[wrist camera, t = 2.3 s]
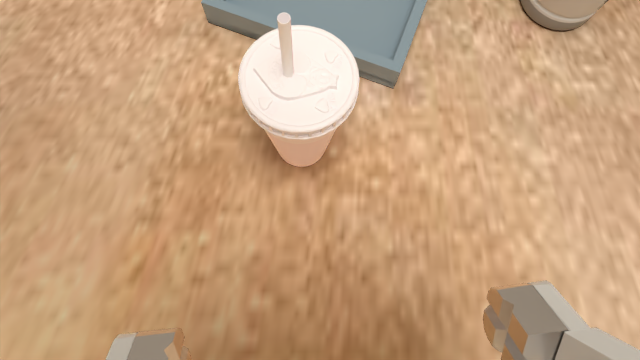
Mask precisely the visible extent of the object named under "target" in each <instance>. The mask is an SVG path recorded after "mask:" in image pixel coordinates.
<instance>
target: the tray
mask: <svg viewBox="0 0 640 360" xmlns="http://www.w3.org/2000/svg"><path fill="white" fill-rule="evenodd" d="M426 2H427V0H202V2H201V3H202V6H203V9H204V11H205V14H206V17H207V20H208V22H209V23H212V24H215V25H218V26H220V27H223V28H226V29H229V30H231V31H234V32H237V33H240V34H243V35H245V36H248V37H251V38H254V39H259V38H260V37H261V36H263V35H264V34H266V33H268V32H270V31H272V30H274V29H277V28H278V21H277V16H278V15H279V14H280V13H283V12H284V13H288V14H289V15H290V18H291V25H306V26H312V27H316V28H320V29H323V30H325V31H327V32H329V33H331V34H333V35H334V36H336V37H337V38H339V39H340V40H341V41H342V42H343V43H344V44H345V45H346V46H347V47H348V49H349V50H350V51H351V53H352V54H353V56H354V58H355V61H356V63H357V67H358V71H359V76H360V77H363V78H366V79H368V80H371V81H374V82H377V83H380V84H382V85H385V86H388V87H391V88H394V86H395V84H396V81H397V79H398V77H399V74H400V72H401V69H402V66H403V64H404V61H405V58H406V56H407V53H408V50H409V47H410V45H411V42H412V39H413V37H414V34H415V31H416V29H417V26H418V23H419V21H420V18H421V15H422V13H423V10H424V7H425V5H426Z"/></svg>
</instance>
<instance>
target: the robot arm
mask: <svg viewBox="0 0 640 360" xmlns="http://www.w3.org/2000/svg"><path fill="white" fill-rule="evenodd" d="M487 300H488V301H489V303H490V305H489V306H488V307H487V308H486V309H485V310H484V315H483V324H484V330H485V333H486V335H487V338H488V340H489V341H490V343H491V345H492V346H493V347H494V348H496V349H497V350H499V351H500V352H502V356H501V360H640V350H638V349H636V348H635V347H633V346H631V345H629V344H627V343H625V342H623V341H621V340H619V339H617V338H615V337H613V336H612V335H610V334H608V333H606V332H604V331H602V330H600V329H598V328H590V327H589V326H588V325H587V324H586V322H585V321H584V320H583V319H582V318H581V317H580V316H579V314H578V313H577V312H576V311H575V310H574V309H573V308H572V307H571V305H570V304H569V303H568V302H567V301H566V300H565V299H564V297H563V296H562V295H561V294H560V293H559V292H558V291H557V289H556V288H555V287H554V286H553V285H552V284H551V283H550V282H548V281H538V282H531V283H522V284H515V285H507V286H500V287H493V288H490V290H489V291H488V294H487ZM184 338H185V337H184V334H183V332H182V329H181V328H173V329H163V330H153V331H143V332H136V333H127V334H119V335H118V336H117V337H116V338H115V339H114V340H113V343H112V345H111V347H110V350H109V352H108V355H107V357H106V359H105V360H191V355H190V352H189V349H188V348H186V347H185V346H183V342H184Z"/></svg>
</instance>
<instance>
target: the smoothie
mask: <svg viewBox="0 0 640 360" xmlns="http://www.w3.org/2000/svg"><path fill="white" fill-rule="evenodd" d="M277 21H278V28H277V29H274V30H272V31H270V32H268V33H266V34H264V35H263V36H261V37H260V38H259V39H257V40H256V41H255V42H254V43H253V44H252V45H251V46H250V48H249V49H248V50H247V52H246V53H245V55H244V57H243V59H242V62H241V65H240V68H239V76H238V81H239V89H240V93H241V98H242V102H243V105H244V107H245V108H246V110H247V112H248V114H249V116H250V117H251V118H252V119H253V120H254V121H255V122H256V123H257V124H258V125H259V126H260V127H261V128H263V129H264V130H265V131H266V133H267V135H268V136H269V138H270V140H271V141H272V143H273V145H274V146H275V148H276V149H277V151H278V153H279V154H280V156H281V157H282V159H283V160H284V161H286V162H287V163H289V164H291V165H293V166H297V167H306V166H310V165H312V164H314V163H316V162H317V161H318V160H319V159H320V158H321V157H322V156H323V154H324V152H325V150H326V148H327V146H328V144H329V142H330V140H331V138H332V136H333V134H334V133H335V131H336V129H337V127H338V126H339V125H341V124H342V123H343V122H344V121H345V120H346V119H347V118H348V116H349V115H350V113H351V111H352V110H353V108H354V106H355V103H356V100H357V96H358V87H359V71H358V67H357V63H356V61H355V58H354V56H353V54H352V53H351V51H350V50H349V49H348V47H347V46H346V45H345V44H344V43H343V42H342V41H341V40H340V39H339V38H337V37H336V36H334V35H333V34H331V33H329V32H327V31H325V30H323V29H320V28H316V27H312V26H306V25H291V18H290V15H289V14H288V13H284V12H283V13H280V14H279V15H278V16H277Z"/></svg>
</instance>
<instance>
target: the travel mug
mask: <svg viewBox="0 0 640 360" xmlns="http://www.w3.org/2000/svg"><path fill="white" fill-rule="evenodd" d="M607 1H608V0H521V4H522V6H523V8H524V10H525V11H526V13H527V14H528V15H529V16H530V17H531V18H532V19H533V20H534V21H535V22H537V23H538V24H540V25H542V26H544V27H546V28H549V29H553V30H571V29H575V28H577V27H580V26H581V25H583V24H584V23H585V22H586V21H587V20H588V19H589V18H590V17H591V16H592V15H594V14H595V12H596V11H597V10H599V9H600V8H601V7H602V6H603V5H604V4H605V3H606V2H607Z"/></svg>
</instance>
